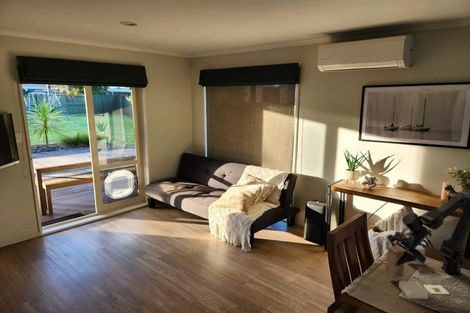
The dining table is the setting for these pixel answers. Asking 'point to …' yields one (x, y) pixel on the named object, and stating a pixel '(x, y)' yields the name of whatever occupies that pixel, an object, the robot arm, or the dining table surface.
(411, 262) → the medicine box
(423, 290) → the base block
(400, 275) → the brown tall block
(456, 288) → the dining table surface
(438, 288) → the card
